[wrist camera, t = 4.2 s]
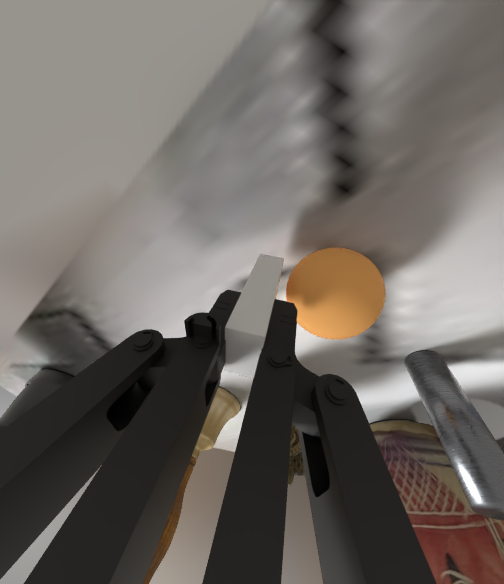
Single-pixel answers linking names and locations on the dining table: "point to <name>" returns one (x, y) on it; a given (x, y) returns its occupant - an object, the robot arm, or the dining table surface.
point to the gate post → (461, 433)
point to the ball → (336, 293)
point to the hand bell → (217, 417)
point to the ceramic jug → (440, 506)
